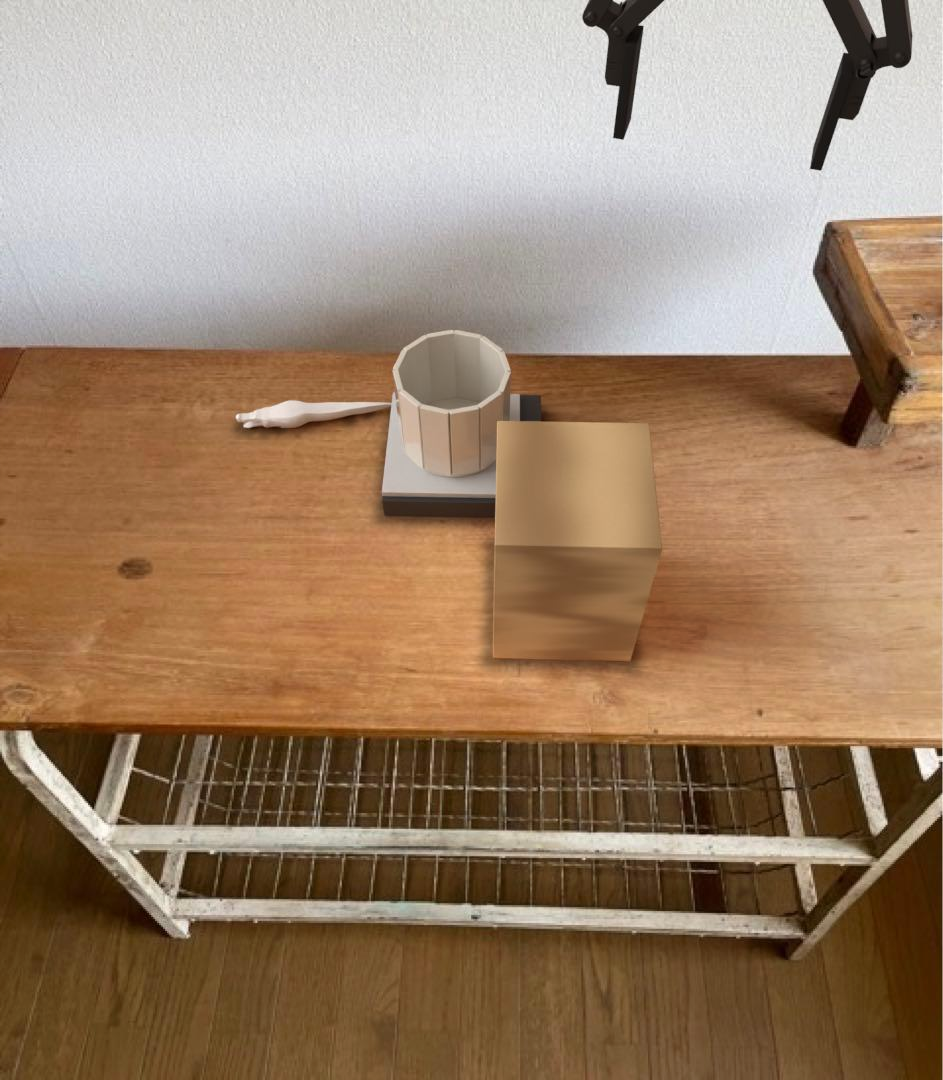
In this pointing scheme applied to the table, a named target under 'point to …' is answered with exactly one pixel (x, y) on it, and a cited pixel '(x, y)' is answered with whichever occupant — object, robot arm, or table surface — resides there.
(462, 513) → the scale
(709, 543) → the table surface
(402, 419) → the pot
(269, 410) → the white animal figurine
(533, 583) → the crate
